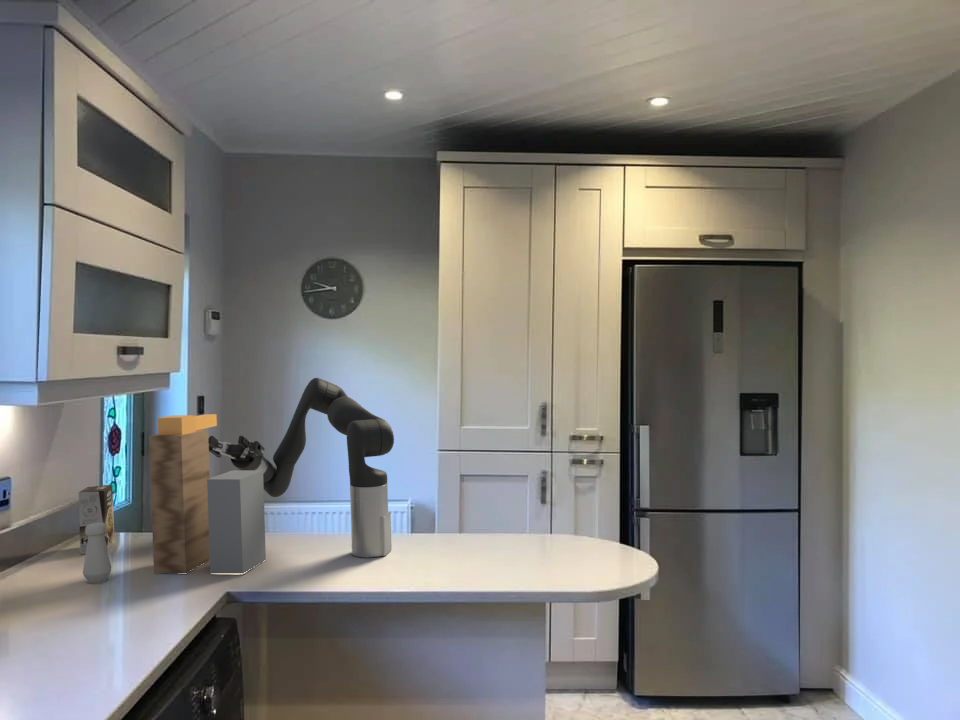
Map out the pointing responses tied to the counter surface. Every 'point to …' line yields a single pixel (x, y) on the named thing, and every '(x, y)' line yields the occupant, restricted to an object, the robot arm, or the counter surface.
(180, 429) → the orange block
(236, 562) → the block
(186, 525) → the tall wooden block
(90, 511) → the coffee box
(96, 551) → the salt shaker
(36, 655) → the counter surface
